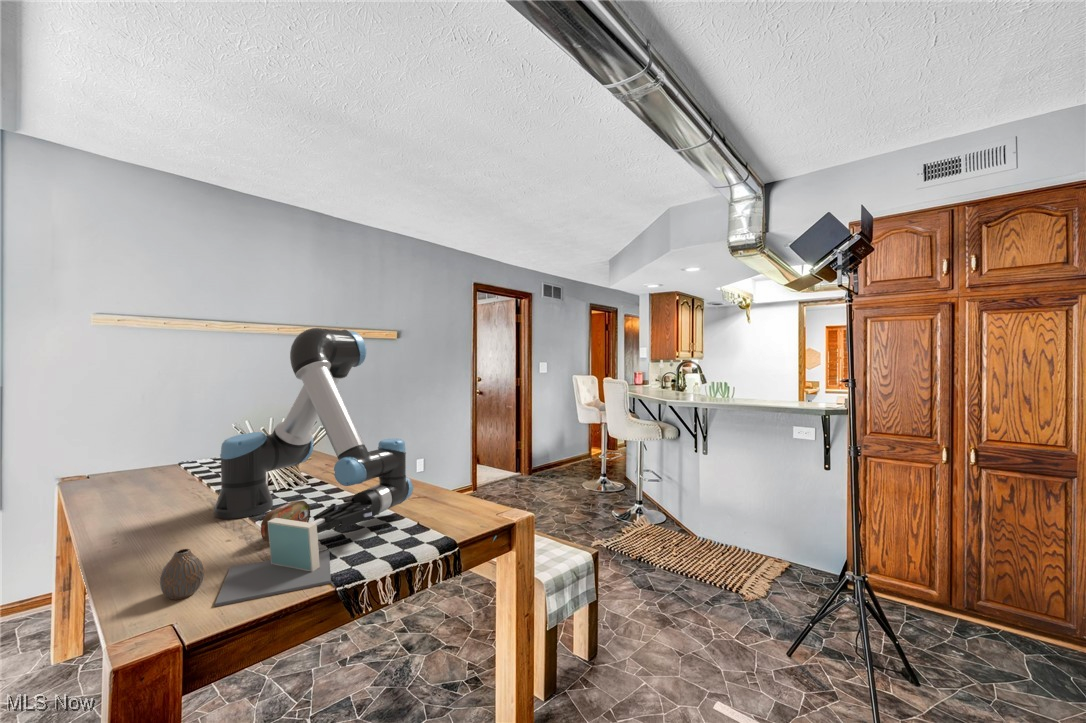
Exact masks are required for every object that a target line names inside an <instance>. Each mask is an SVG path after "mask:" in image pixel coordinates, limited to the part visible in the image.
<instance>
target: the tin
mask: <svg viewBox="0 0 1086 723" xmlns="http://www.w3.org/2000/svg"><path fill="white" fill-rule="evenodd" d="M274 518H280V519H287V520H294V521H301V522H308V523H310V518H311V508H310V506H309V504H308V503H307V502H306V501H305V500H295V501H290V502H288V503H285V504H284V505H281V506H280V507H276V508H274V509H272V510H271V511H268V513H266V514H265V515H264V517H263V519H262V520H261V524H260V536H261V538H262V540H263V541H264V542H266V543H268V544H270V543H269V532H268V521H270V520H272V519H274Z"/></svg>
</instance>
